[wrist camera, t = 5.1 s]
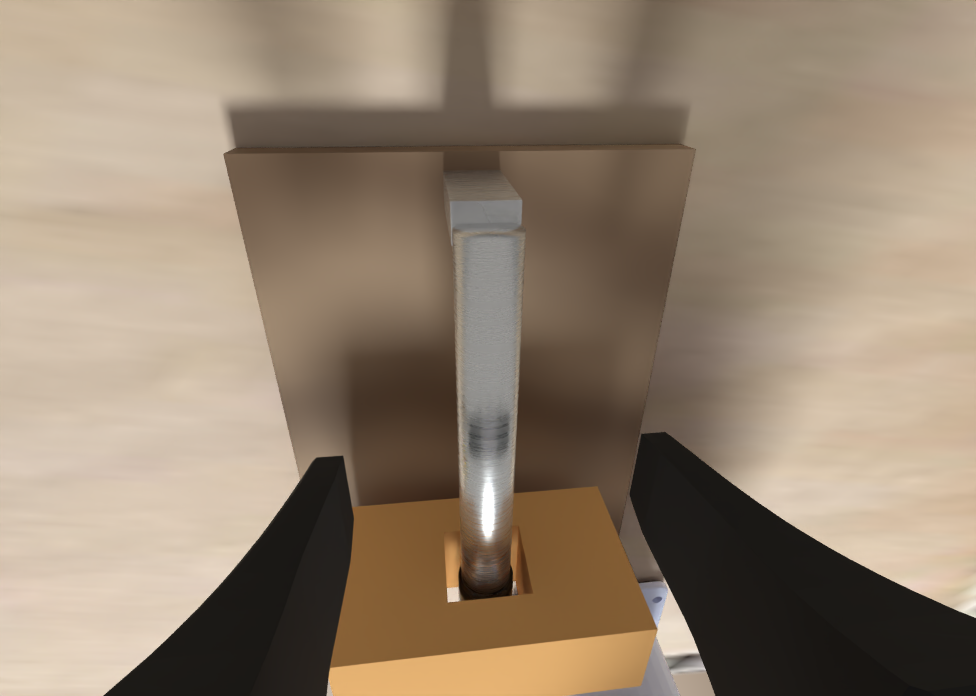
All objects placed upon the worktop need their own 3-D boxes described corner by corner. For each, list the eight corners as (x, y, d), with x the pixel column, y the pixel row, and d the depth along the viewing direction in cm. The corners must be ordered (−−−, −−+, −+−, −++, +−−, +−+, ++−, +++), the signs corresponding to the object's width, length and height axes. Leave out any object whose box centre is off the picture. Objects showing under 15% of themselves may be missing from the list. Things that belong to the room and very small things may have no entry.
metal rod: (494, 565, 23) (512, 682, 18) (454, 570, 22) (463, 688, 18) (503, 170, 14) (539, 216, 10) (439, 170, 14) (448, 218, 10)
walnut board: (606, 543, 24) (613, 561, 24) (329, 570, 23) (326, 590, 22) (680, 144, 15) (695, 149, 15) (235, 147, 14) (223, 154, 13)
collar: (589, 540, 21) (641, 685, 16) (359, 561, 20) (340, 724, 15) (597, 486, 19) (657, 629, 14) (350, 507, 18) (325, 668, 13)
